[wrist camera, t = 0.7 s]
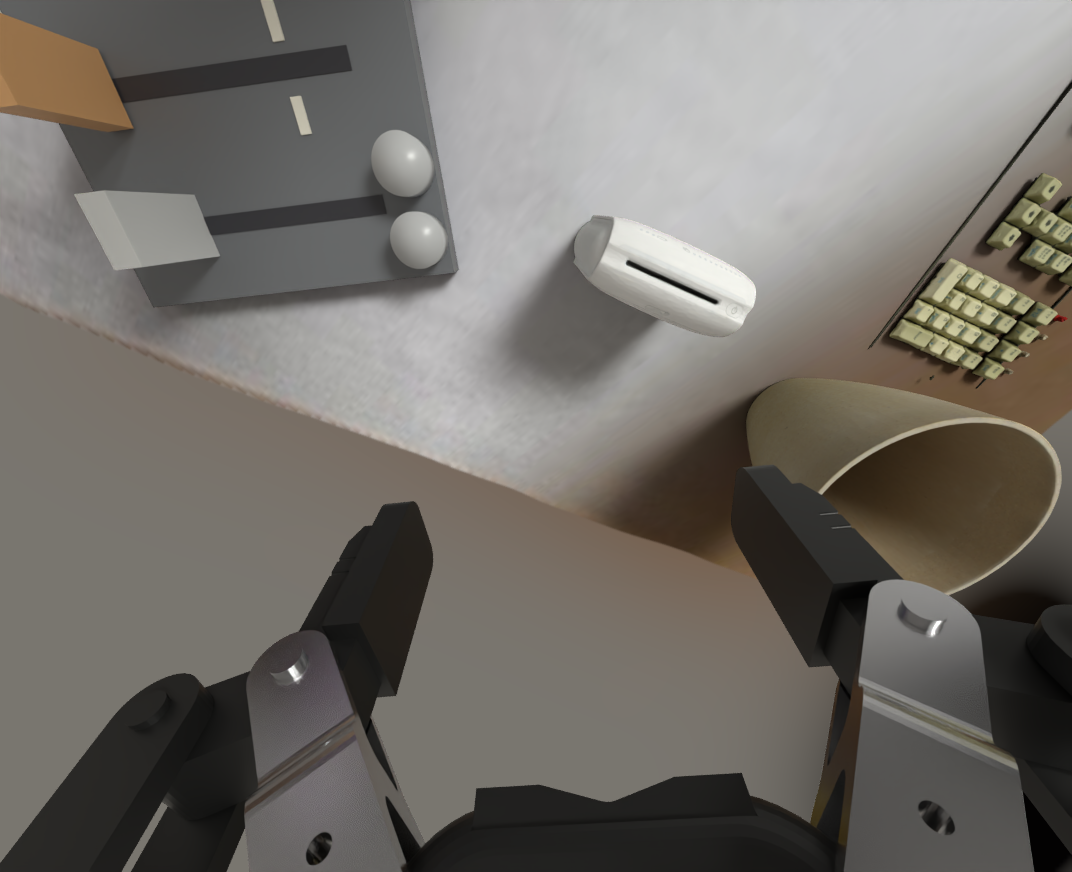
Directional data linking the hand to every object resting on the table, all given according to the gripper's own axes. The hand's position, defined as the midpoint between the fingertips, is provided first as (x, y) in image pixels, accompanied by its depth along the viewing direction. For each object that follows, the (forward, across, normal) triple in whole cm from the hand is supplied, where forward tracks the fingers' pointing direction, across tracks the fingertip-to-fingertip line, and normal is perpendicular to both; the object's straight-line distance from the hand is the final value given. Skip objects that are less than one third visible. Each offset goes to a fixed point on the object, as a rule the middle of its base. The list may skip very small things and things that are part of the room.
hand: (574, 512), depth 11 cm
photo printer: (+28, -7, -2) cm, 29 cm away
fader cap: (+26, +27, -17) cm, 40 cm away
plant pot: (+28, -21, +14) cm, 37 cm away
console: (+28, +19, -12) cm, 36 cm away
